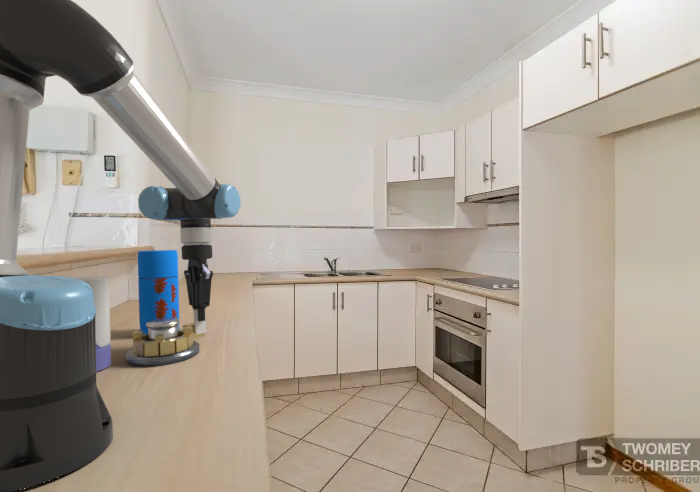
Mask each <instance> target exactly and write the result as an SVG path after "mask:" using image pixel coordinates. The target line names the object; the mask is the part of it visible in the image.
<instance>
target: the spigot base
mask: <svg viewBox="0 0 700 492" xmlns="http://www.w3.org/2000/svg"><path fill="white" fill-rule="evenodd" d="M178 324H179V325H180V318H179V319H177V318H164V319H157V320H152V321H149V322H147V323H146V327H147V328H148V331H149V341H155V336H156V335H157V334H164V340H169V339H174V338H177V337H178ZM198 354H200V343H199V342H198V341H196V340H193V345H192V346H191V347H190V348H189V349H187V350H184V351H181V352H178V353H174V354H168V355H163V356H160V355H159V356H148V357H145V356H138V355H135V354H134V353H133V348H131V349H129V350H128V351H126V353H125V364H127V365H129V366H133V367H138V368H139V367H142V368H143V367H144V368H145V367H147V368H149V367H150V368H151V367H152V368H153V367H161V366H167V365H172V364H177V363H181V362H184V361H186V360H189V359H192V358H193V357H196V356H197V355H198Z"/></svg>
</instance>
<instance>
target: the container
mask: <svg viewBox="0 0 700 492" xmlns="http://www.w3.org/2000/svg"><path fill="white" fill-rule="evenodd" d="M75 278H76V279H79V280H82V281H84V282H86V283H88V284H89V285H90V287H91V288H92V291H93V298H94V305H95V307H96V313H95V314H96V315H95V332H96V373H97V372H100V371H103V370H105V369H107V368H109V367H110V366H111V365H112V346H111V345H112V344H111V341H112V340H111V339H112V338H111V313H110V307H111V306H110V281H109V280H110V279H109V277H107V276H83V277H82V276H81V277H75Z"/></svg>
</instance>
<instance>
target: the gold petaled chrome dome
mask: <svg viewBox="0 0 700 492" xmlns="http://www.w3.org/2000/svg"><path fill="white" fill-rule="evenodd" d="M203 337H205V333H200V334H194V322H192V323H187V324H183V325H182V328H179V329H178V337H177V338H174V339H169V340H164V334H157V335H156V336H155V341H149V332H148V333H145V334H143V331H140V330H136V331H133V332H132V349H133V353H134V354H135V355H138V356H145V357H148V356H159V355H160V356H163V355H168V354H174V353H178V352H181V351H184V350H187V349H189V348H190V347H191V346H192V345H193V341H195V340H196V339H200V338H203Z"/></svg>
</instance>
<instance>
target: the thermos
mask: <svg viewBox="0 0 700 492" xmlns="http://www.w3.org/2000/svg"><path fill="white" fill-rule="evenodd" d="M178 256H179V255H178V250H177V249H174V250H173V249H169V250H168V249H167V250H166V249H161V250H160V249H158V250H138V252H137V280H138V283H137V284H138V315H139V321H138V322H139V331H143V334H145V333H148V332H149V331H148V328H147V327H146V323H147V322H149V321H152V320H157V319H164V318H177V319H179V320H180V296H179V294H180V293H179V292H180V291H179V290H180V289H179V257H178ZM178 329H180V323H179V324H178Z"/></svg>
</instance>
